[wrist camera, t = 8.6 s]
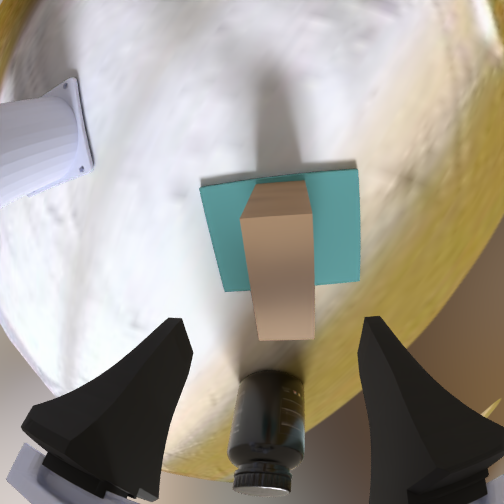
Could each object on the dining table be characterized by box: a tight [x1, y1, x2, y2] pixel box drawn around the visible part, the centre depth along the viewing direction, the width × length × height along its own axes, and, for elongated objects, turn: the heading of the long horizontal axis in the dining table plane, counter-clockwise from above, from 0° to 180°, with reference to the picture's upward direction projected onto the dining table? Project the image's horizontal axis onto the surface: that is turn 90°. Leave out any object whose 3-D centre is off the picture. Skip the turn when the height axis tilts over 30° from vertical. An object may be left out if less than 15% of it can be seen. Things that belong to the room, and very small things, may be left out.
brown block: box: [240, 180, 315, 341], centre depth 16 cm, size 7×3×6 cm, turn 8°
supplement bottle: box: [227, 371, 305, 497], centre depth 21 cm, size 7×7×12 cm
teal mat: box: [199, 169, 360, 292], centre depth 18 cm, size 10×8×1 cm
